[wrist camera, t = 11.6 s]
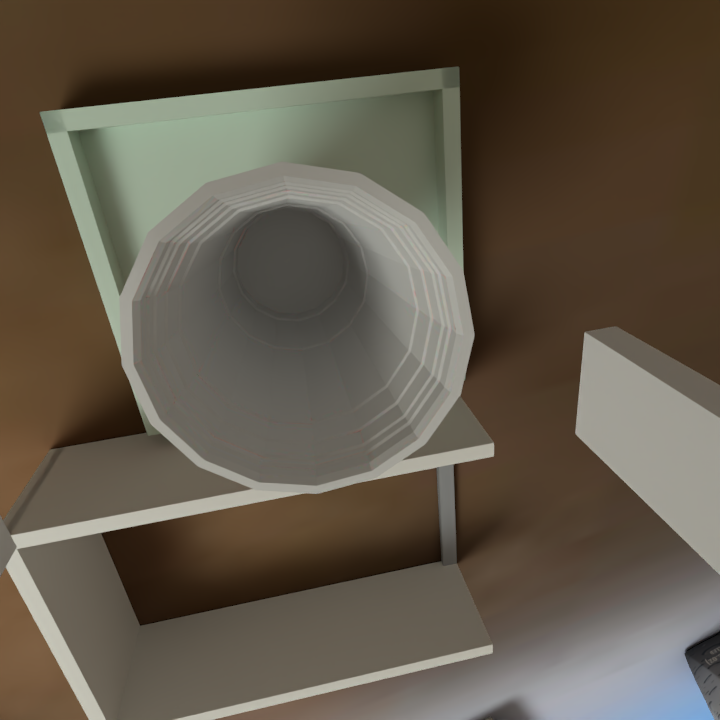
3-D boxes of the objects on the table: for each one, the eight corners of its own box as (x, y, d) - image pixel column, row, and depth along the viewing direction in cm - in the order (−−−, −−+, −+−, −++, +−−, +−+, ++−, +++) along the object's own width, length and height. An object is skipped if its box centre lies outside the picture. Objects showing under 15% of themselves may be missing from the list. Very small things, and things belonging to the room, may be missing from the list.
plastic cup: (203, 110, 23) (149, 96, 12) (421, 190, 26) (533, 236, 15) (155, 330, 27) (82, 469, 16) (351, 378, 30) (401, 522, 19)
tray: (154, 416, 29) (147, 436, 27) (57, 112, 23) (39, 111, 21) (453, 365, 31) (465, 379, 29) (444, 70, 24) (459, 66, 23)
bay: (131, 636, 36) (103, 745, 29) (49, 449, 29) (-10, 539, 23) (454, 566, 38) (492, 653, 32) (448, 379, 31) (494, 442, 25)
